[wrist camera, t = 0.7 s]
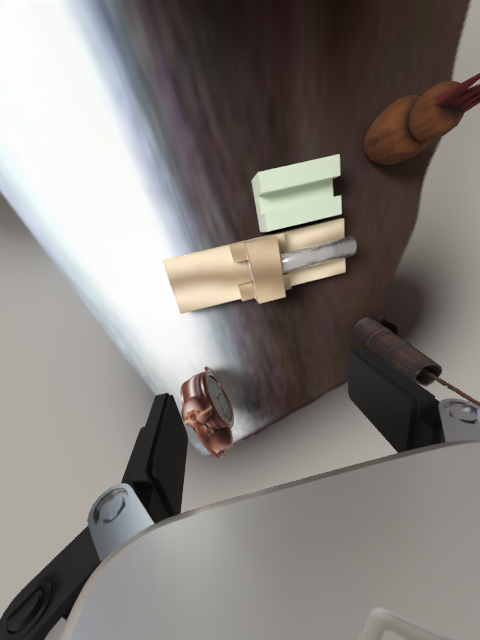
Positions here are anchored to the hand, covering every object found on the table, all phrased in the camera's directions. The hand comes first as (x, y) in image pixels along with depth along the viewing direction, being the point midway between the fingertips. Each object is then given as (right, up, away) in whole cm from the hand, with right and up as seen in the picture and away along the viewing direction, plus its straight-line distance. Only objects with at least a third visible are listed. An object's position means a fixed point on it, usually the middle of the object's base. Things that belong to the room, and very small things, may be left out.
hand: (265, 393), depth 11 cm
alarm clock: (-8, -8, +32) cm, 34 cm away
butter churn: (+23, +2, +33) cm, 40 cm away
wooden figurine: (+19, +30, +22) cm, 42 cm away
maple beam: (+2, +13, +25) cm, 29 cm away
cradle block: (+6, +22, +23) cm, 32 cm away
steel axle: (+8, +14, +23) cm, 28 cm away
